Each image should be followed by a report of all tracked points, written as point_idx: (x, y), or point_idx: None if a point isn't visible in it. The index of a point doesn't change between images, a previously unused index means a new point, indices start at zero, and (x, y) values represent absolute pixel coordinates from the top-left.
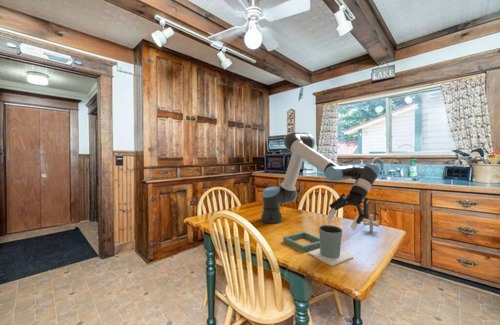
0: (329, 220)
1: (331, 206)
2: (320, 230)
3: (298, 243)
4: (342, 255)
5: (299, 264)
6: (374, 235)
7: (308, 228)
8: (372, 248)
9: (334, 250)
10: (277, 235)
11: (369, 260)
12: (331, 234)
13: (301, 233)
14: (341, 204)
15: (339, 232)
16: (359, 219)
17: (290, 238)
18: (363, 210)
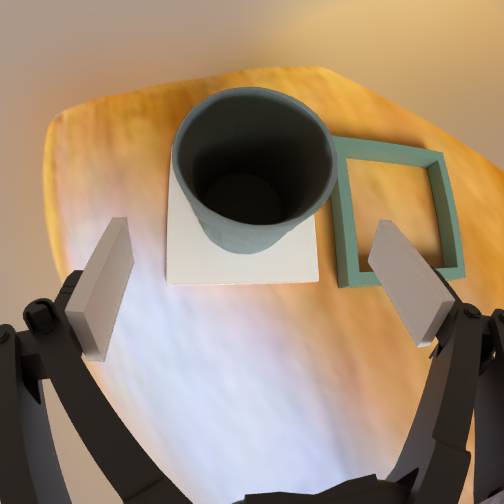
0: (374, 248)
1: (490, 322)
2: (278, 95)
3: (371, 147)
4: (200, 247)
5: (250, 77)
6: None
7: None
8: (193, 458)
9: (201, 179)
10: (479, 187)
11: (116, 329)
12: (200, 108)
13: (455, 247)
14: (436, 400)
15: (172, 147)
16: (63, 293)
17: (437, 184)
18: (15, 382)
